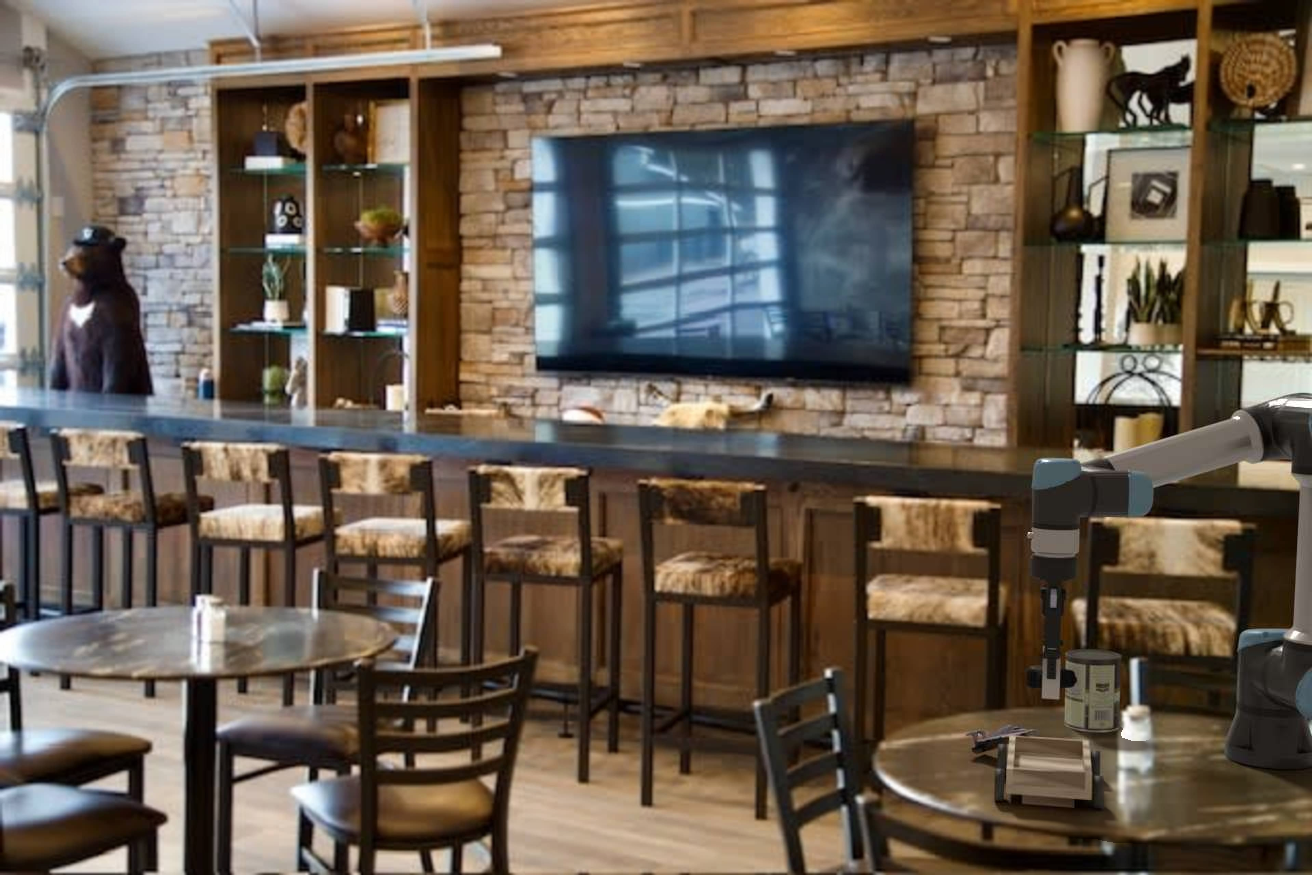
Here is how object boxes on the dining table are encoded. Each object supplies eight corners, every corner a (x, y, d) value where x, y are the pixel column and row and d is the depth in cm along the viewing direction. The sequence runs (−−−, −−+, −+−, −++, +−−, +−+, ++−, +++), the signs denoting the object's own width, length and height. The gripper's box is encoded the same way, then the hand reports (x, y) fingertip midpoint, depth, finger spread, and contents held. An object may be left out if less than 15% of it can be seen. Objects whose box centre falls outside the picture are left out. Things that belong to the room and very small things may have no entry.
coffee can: (1089, 718, 314) (1091, 646, 313) (1131, 730, 306) (1133, 656, 305) (1051, 725, 309) (1053, 651, 308) (1092, 736, 300) (1095, 661, 299)
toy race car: (1044, 734, 279) (1038, 711, 280) (1024, 735, 275) (1018, 712, 276) (987, 753, 288) (981, 730, 289) (966, 754, 284) (961, 731, 286)
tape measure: (1042, 694, 259) (1042, 671, 259) (1017, 689, 266) (1017, 666, 266) (1077, 691, 262) (1077, 668, 262) (1051, 686, 268) (1051, 663, 268)
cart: (998, 768, 277) (998, 734, 277) (1098, 775, 273) (1099, 740, 273) (993, 804, 256) (994, 767, 255) (1103, 813, 252) (1104, 775, 251)
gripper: (1031, 544, 273) (1027, 677, 275) (1029, 561, 252) (1025, 704, 254) (1077, 546, 271) (1073, 679, 273) (1079, 564, 251) (1075, 708, 252)
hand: (1050, 691), depth 263 cm, fingers closed on tape measure, 9 cm apart
